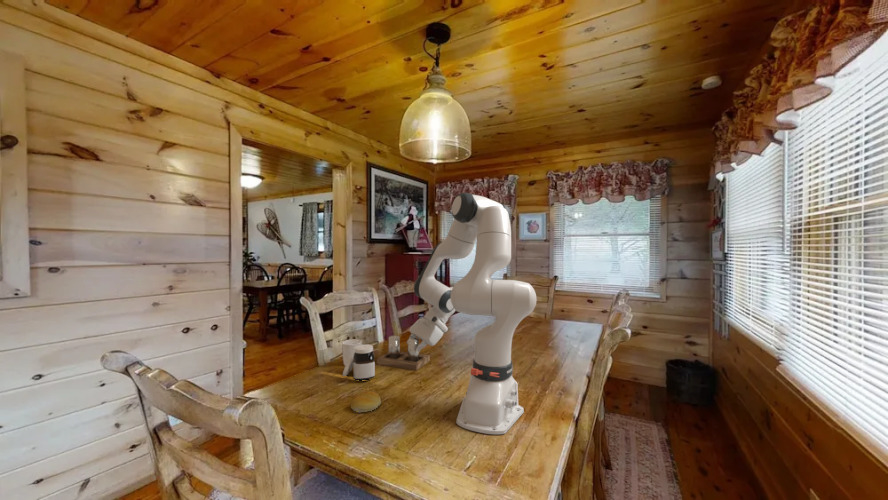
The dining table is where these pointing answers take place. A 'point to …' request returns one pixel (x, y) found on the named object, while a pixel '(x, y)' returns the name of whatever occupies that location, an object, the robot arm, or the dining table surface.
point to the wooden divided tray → (403, 361)
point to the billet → (413, 349)
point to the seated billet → (394, 347)
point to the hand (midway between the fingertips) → (412, 347)
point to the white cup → (349, 349)
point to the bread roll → (366, 402)
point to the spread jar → (361, 363)
